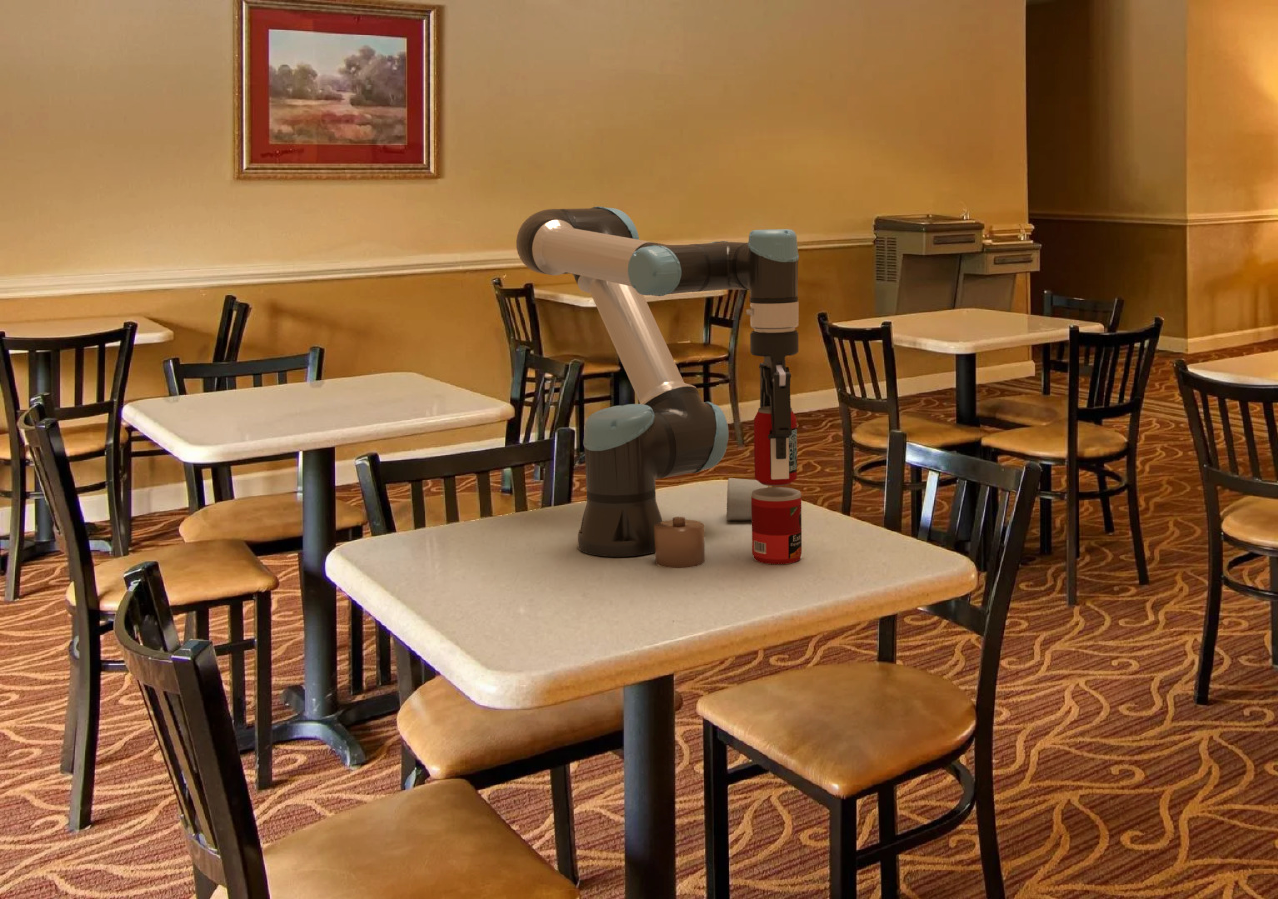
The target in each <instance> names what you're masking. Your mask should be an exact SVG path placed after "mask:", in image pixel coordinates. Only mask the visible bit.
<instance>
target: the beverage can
mask: <svg viewBox="0 0 1278 899" xmlns="http://www.w3.org/2000/svg"><path fill="white" fill-rule="evenodd" d="M797 422H798V420H797V416H796V414H795V413H794V411H793V408H792V407H791V430H792V435H791V436H789V479H771V439H768V435H769V434H772V423H771V409H770V406H766V407H760V406H759V407H758V408H757V412H756V414H755V417H754V418H753V450H754V451H753V452H754V454H753V456H754V457H753V458H754V459H753V460H754V462H753V463H754V465H753V466H754V480H757V481H758V482H760V483H761V484H763V485H767V486H772V487H783V486H784V487H785V486H788V485H790V484H792V483H794V481H796V480H797V479H798V439H797V438H798V434H797V433H798V432H797V431H798V429H797V427H798V426H797V425H798V424H797Z"/></svg>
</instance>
